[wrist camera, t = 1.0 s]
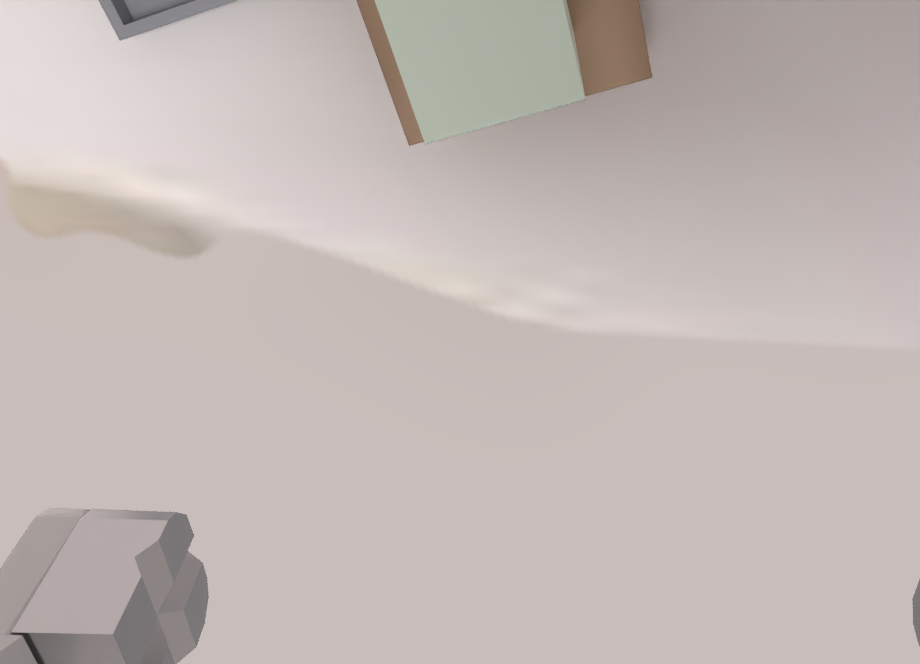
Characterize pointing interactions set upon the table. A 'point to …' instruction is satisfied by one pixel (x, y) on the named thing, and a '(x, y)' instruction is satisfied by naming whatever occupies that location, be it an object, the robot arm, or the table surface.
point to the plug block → (482, 60)
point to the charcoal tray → (152, 13)
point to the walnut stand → (597, 41)
